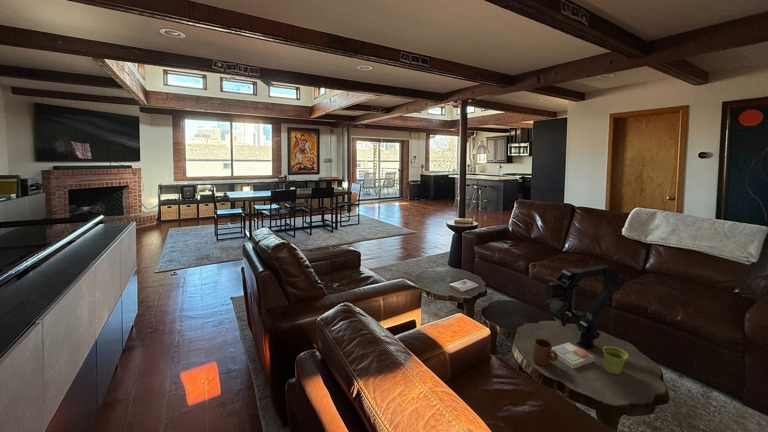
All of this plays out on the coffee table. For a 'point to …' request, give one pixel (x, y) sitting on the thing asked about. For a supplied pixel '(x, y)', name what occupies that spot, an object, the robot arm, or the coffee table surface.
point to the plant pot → (614, 359)
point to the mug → (543, 352)
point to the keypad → (569, 362)
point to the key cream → (570, 348)
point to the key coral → (581, 353)
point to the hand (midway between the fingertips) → (563, 326)
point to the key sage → (572, 357)
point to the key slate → (561, 350)
